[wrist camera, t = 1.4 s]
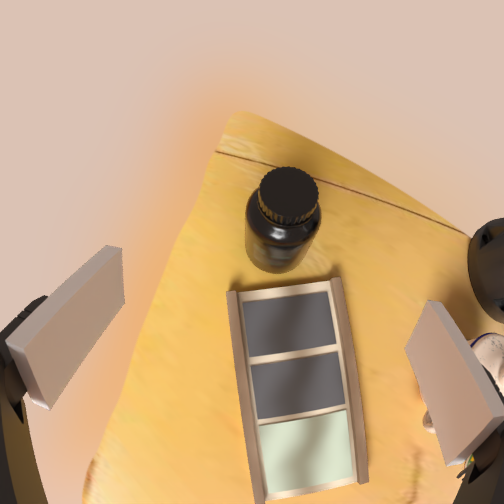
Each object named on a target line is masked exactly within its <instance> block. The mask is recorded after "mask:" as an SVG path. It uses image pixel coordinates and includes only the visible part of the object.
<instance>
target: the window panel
mask: <svg viewBox="0 0 504 504" xmlns="http://www.w3.org/2000/svg"><path fill="white" fill-rule="evenodd" d="M226 297H227V305H228V314H229V323H230V331H231V339H232V347H233V355H234V363H235V371H236V378H237V386H238V393H239V401H240V408H241V415H242V422H243V429H244V436H245V443H246V449H247V456H248V462H249V469H250V475H251V481H252V488H253V494H254V500H255V504H265V501H268V500H275V499H282V498H288V497H294V496H299V495H305V494H310V493H314V492H319V491H324V490H328V489H332V488H336V487H340V486H344V485H348V484H351V483H355V482H358V483H359V484H360V485H361V484H364V483H367V482H369V473H368V460H367V449H366V438H365V428H364V419H363V411H362V402H361V395H360V387H359V380H358V373H357V366H356V360H355V353H354V347H353V341H352V335H351V329H350V323H349V318H348V312H347V307H346V302H345V296H344V291H343V286H342V281H341V277H336V278H331V279H330V280H329V281H323V282H316V283H309V284H301V285H294V286H286V287H279V288H271V289H263V290H255V291H246V292H238V293H236V291H227V292H226Z"/></svg>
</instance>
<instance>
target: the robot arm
mask: <svg viewBox="0 0 504 504" xmlns="http://www.w3.org/2000/svg"><path fill="white" fill-rule="evenodd" d="M468 268H469V275H470V280H471V283H472V287H473V290H474V292H475V295H476V297H477V299H478V301H479V303H480V304H481V306H482V307H483V309H484V310H485V311H486V313H487V314H488V315H489V316H490V317H492V318H493V319H494V320H496V321H498V322H500V323H504V218H500V219H495V220H492V221H490V222H488V223H486V224H485V225H484V226H482V227H481V228H480V229H478V230H477V231H476V233H475V234H474V236H473V238H472V240H471V243H470V246H469V253H468ZM124 303H125V299H124V286H123V266H122V248H118V247H113V246H108V245H106V246H105V247H104V248H102V249H101V250H100V251H99V252H98V253H97V254H95V255H94V256H93V257H92V258H91V259H90V260H88V261H87V262H86V263H85V264H84V265H83V266H82V267H81V268H79V269H78V270H77V271H76V272H75V273H74V274H73V275H72V276H70V277H69V278H68V279H67V280H66V281H65V282H64V283H63V284H62V285H61V286H60V287H58V288H57V289H56V290H55V291H54V292H53V293H52V294H51V295H50V296H49V297H48V296H45V295H44V296H42V297H40V298H38V299H36V300H34V301H32V302H31V303H30V304H29V305H28V306H27V307H26V308H25V309H24V311H22V312H21V313H20V314H19V315H18V317H15V318H14V319H13V321H11V323H9V324H8V325H7V326H6V327H5V328H4V330H2V331H1V332H0V504H48V502H47V498H46V495H45V492H44V489H43V485H42V482H41V479H40V475H39V471H38V467H37V463H36V459H35V455H34V451H33V446H32V442H31V437H30V431H29V426H28V420H27V415H26V407H25V403H24V400H23V398H22V397H23V396H24V395H25V393H26V392H28V394H29V396H30V398H31V400H32V402H33V403H36V404H37V405H39V406H41V407H43V408H46V409H48V410H51V409H52V407H53V405H54V404H55V402H56V401H57V399H58V397H59V396H60V395H61V393H62V392H63V390H64V388H65V387H66V385H67V384H68V382H69V381H70V379H71V378H72V376H73V375H74V373H75V372H76V371H77V369H78V367H79V366H80V365H81V363H82V362H83V360H84V359H85V357H86V356H87V355H88V353H89V352H90V350H91V349H92V347H93V346H94V345H95V343H96V341H97V340H98V339H99V338H100V336H101V335H102V333H103V332H104V330H105V329H106V328H107V327H108V325H109V324H110V322H111V321H112V320H113V318H114V317H115V316H116V314H117V313H118V311H119V310H120V309H121V308H122V306H123V305H124ZM404 349H405V351H406V354H407V356H408V359H409V361H410V364H411V366H412V369H413V371H414V374H415V376H416V379H417V381H418V384H419V387H420V389H421V392H422V395H423V397H424V400H425V403H426V406H427V408H428V411H429V414H430V417H431V420H432V423H433V426H434V429H435V432H436V435H437V438H438V441H439V444H440V447H441V451H442V454H443V457H444V460H445V464H446V466H451V465H457V464H462V463H463V462H464V461H465V460H466V459H467V458H468V457H469V456H470V455H471V454H472V455H473V458H474V461H473V462H471V463H470V464H469V465H468V466H467V467H466V468H465V469H464V470H463V471H461V472H460V473H459V474H458V476H457V477H456V478H458V479H459V478H460V477H461V476H462V475H463V474H465V473H466V474H465V477H464V478H463V479H462V481H463V482H462V484H461V486H460V489H459V491H458V493H457V496H456V498H455V500H454V502H453V504H504V396H503V394H502V392H500V389H499V387H498V385H497V384H496V382H495V380H494V378H493V376H492V375H491V373H490V372H489V371H488V370H487V369H486V368H485V367H484V366H483V365H481V363H480V362H479V360H478V358H477V357H476V355H475V353H474V352H473V350H472V348H471V347H470V345H469V344H468V342H467V340H466V339H465V337H464V336H463V334H462V333H461V331H460V329H459V328H458V326H457V325H456V323H455V322H454V320H453V319H452V317H451V316H450V314H449V313H448V311H447V310H446V308H445V307H444V306H443V304H442V303H441V302H438V301H431V300H427V303H426V305H425V307H424V309H423V311H422V314H421V316H420V318H419V320H418V322H417V324H416V326H415V329H414V331H413V333H412V335H411V337H410V339H409V341H408V343H407V345H406V347H405V348H404Z"/></svg>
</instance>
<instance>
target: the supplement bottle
mask: <svg viewBox="0 0 504 504" xmlns="http://www.w3.org/2000/svg"><path fill="white" fill-rule="evenodd" d="M318 195H319V192H318V187H317V186H316V183H315V182H314V180H313V178H311V177H310V175H309V174H306V172H305V171H302V170H300V169H296V168H295V167H281V168H276V169H273V170H272V171H270V172H268V173H267V175H265V176H264V178H263V179H262V180H261V183H260V185H259V187H258V188H257V189H255V190H254V192H253V193H252V194H251V196H250V197H249V199H248V202H247V205H246V212H245V246H246V252H247V254H248V257H249V258H250V260H251V261H252V263H253V264H254V265H255V266H256V267H258V268H259V269H261V270H263V271H265V272H268V273H273V274H281V273H286V272H289V271H291V270H293V269H294V268H296V267H297V266H298V265H299V264H300V263H301V261H302V260H303V258H304V257H305V255H306V253H307V251H308V249H309V247H310V245H311V244H312V242H313V240H314V238H315V236H316V234H317V232H318V230H319V227H320V224H321V208H320V205H319V202H318V199H319V198H318Z"/></svg>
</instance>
